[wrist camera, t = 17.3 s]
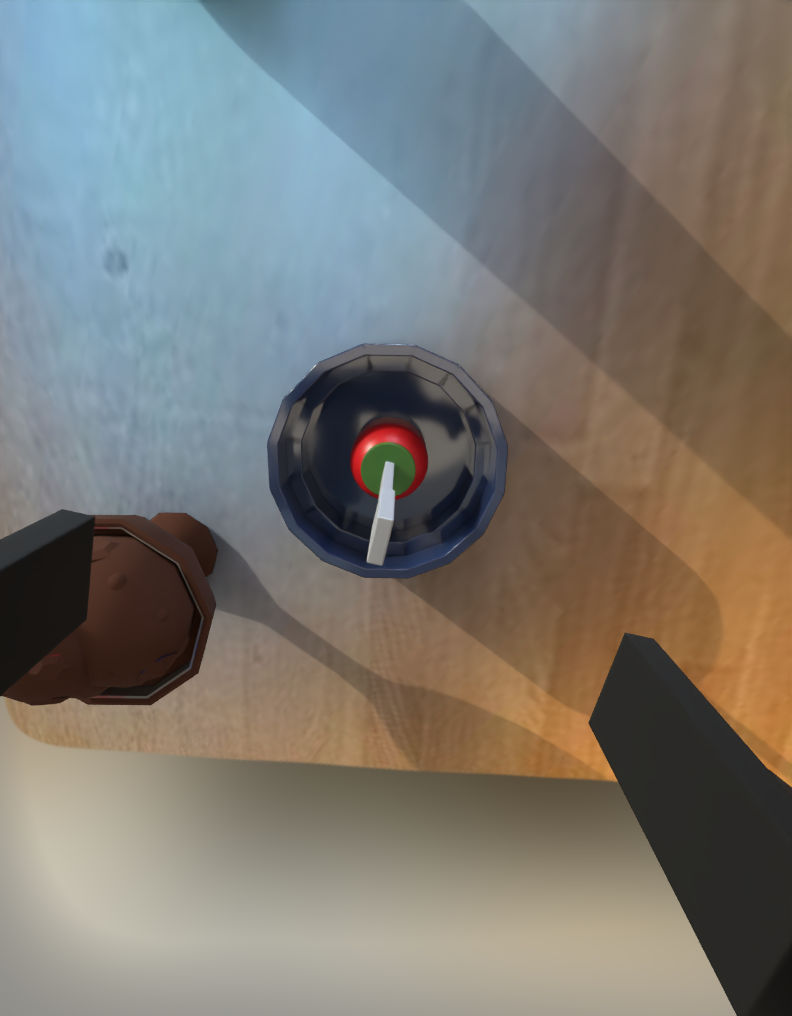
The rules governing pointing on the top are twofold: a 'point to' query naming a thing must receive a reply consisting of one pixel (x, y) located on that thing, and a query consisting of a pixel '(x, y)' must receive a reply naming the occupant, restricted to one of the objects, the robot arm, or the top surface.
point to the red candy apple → (387, 472)
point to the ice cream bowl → (133, 616)
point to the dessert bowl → (333, 431)
